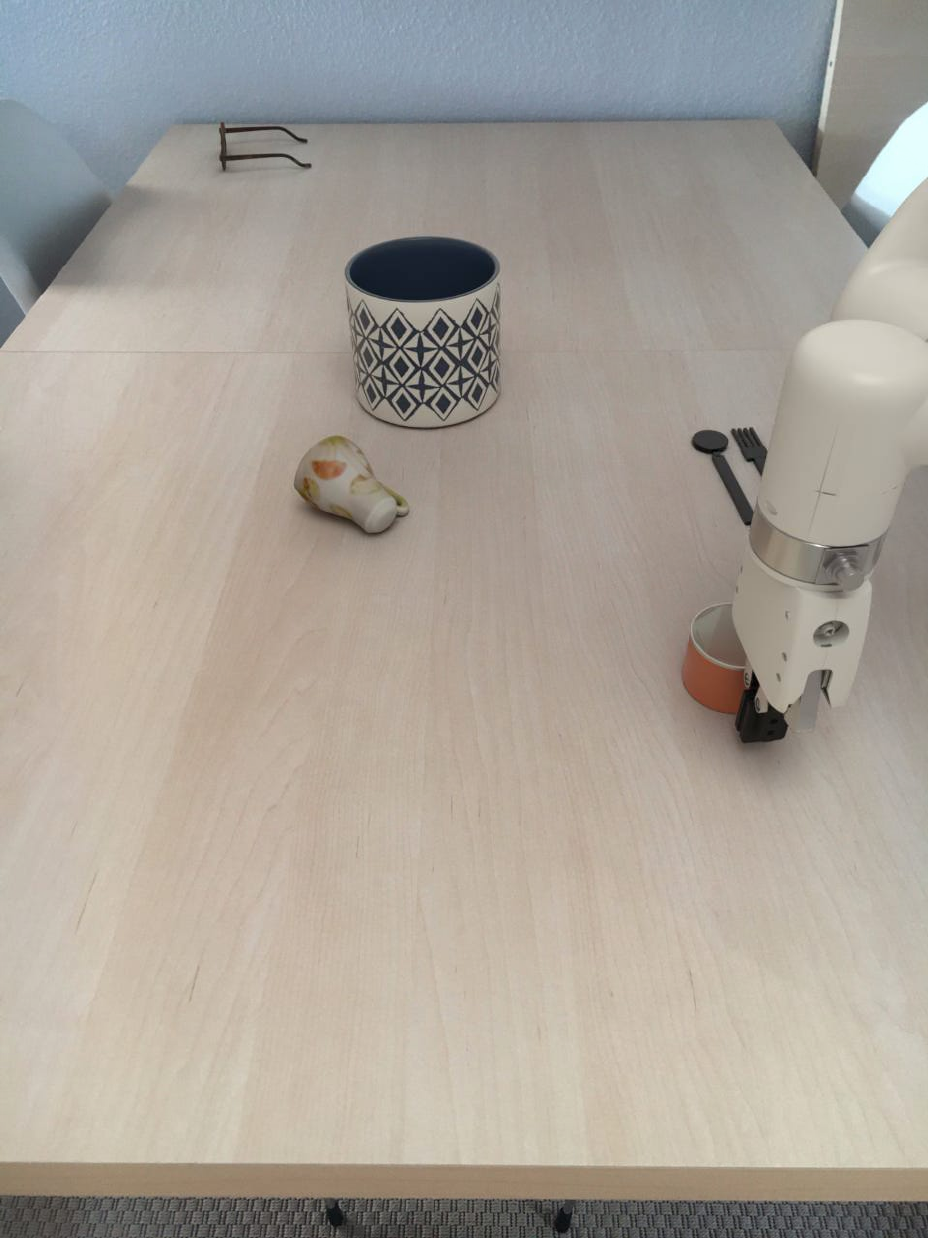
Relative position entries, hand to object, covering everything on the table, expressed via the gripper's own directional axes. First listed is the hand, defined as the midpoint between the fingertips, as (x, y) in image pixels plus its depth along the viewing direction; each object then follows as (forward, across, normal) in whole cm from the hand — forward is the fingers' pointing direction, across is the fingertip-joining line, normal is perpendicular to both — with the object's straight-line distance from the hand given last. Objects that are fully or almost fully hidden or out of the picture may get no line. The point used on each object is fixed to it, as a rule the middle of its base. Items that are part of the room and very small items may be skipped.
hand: (758, 732), depth 71 cm
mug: (+2, +32, +28) cm, 43 cm away
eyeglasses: (+2, +134, +40) cm, 140 cm away
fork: (+2, +34, -12) cm, 36 cm away
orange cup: (+2, +7, 0) cm, 7 cm away
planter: (+2, +54, +20) cm, 57 cm away
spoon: (+2, +34, -8) cm, 35 cm away
